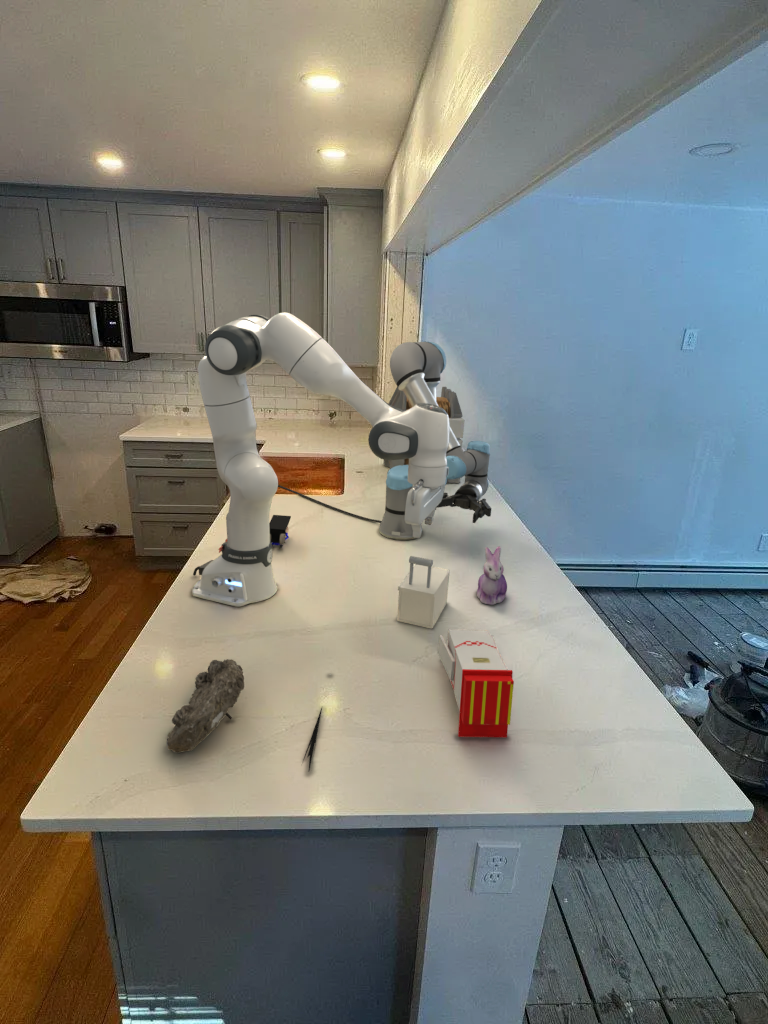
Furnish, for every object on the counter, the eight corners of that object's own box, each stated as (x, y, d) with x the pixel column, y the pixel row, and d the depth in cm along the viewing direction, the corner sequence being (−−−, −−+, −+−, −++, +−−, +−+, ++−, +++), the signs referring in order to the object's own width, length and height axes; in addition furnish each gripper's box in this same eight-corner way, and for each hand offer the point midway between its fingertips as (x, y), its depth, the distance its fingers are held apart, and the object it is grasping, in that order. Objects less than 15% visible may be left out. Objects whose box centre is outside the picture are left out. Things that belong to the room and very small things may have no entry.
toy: (488, 613, 130) (523, 677, 101) (484, 667, 133) (517, 744, 104) (435, 612, 130) (455, 676, 101) (432, 666, 133) (451, 743, 103)
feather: (331, 679, 122) (336, 673, 122) (307, 777, 96) (313, 769, 95) (324, 675, 122) (329, 669, 121) (298, 772, 95) (304, 764, 95)
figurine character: (285, 555, 182) (292, 533, 195) (285, 534, 178) (291, 513, 192) (264, 554, 181) (272, 532, 195) (263, 534, 178) (271, 512, 191)
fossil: (192, 660, 117) (244, 628, 112) (224, 691, 120) (276, 661, 115) (142, 746, 98) (202, 712, 93) (182, 779, 101) (242, 748, 96)
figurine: (489, 609, 152) (495, 558, 146) (466, 592, 160) (471, 543, 155) (516, 602, 156) (523, 552, 151) (493, 586, 164) (499, 538, 159)
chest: (432, 628, 141) (434, 596, 138) (397, 620, 144) (398, 589, 141) (446, 603, 154) (449, 573, 151) (414, 596, 157) (416, 566, 154)
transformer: (382, 463, 289) (386, 382, 275) (445, 464, 293) (451, 384, 279) (390, 482, 257) (394, 392, 243) (460, 483, 261) (468, 394, 247)
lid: (434, 598, 138) (436, 566, 135) (397, 590, 141) (399, 558, 138) (449, 573, 151) (452, 543, 148) (416, 566, 154) (418, 537, 151)
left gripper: (427, 488, 121) (422, 548, 126) (450, 466, 139) (446, 519, 144) (399, 484, 123) (396, 543, 128) (426, 463, 141) (422, 515, 146)
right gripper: (505, 512, 182) (492, 533, 163) (431, 500, 190) (410, 520, 171) (508, 489, 179) (495, 509, 160) (432, 478, 188) (411, 496, 169)
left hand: (422, 530), depth 136 cm, fingers open, 8 cm apart
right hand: (451, 514), depth 166 cm, fingers open, 13 cm apart
